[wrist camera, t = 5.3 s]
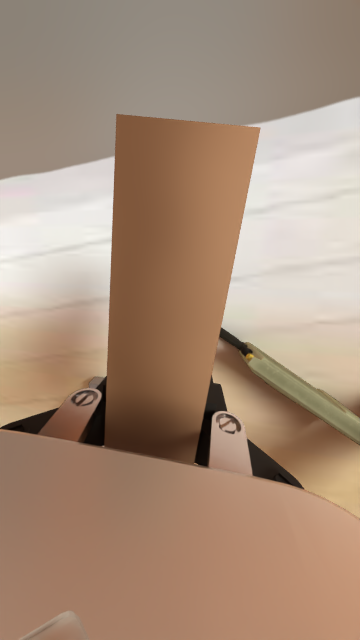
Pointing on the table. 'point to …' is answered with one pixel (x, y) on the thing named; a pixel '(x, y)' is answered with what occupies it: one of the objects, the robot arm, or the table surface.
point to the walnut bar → (170, 275)
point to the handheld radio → (297, 389)
